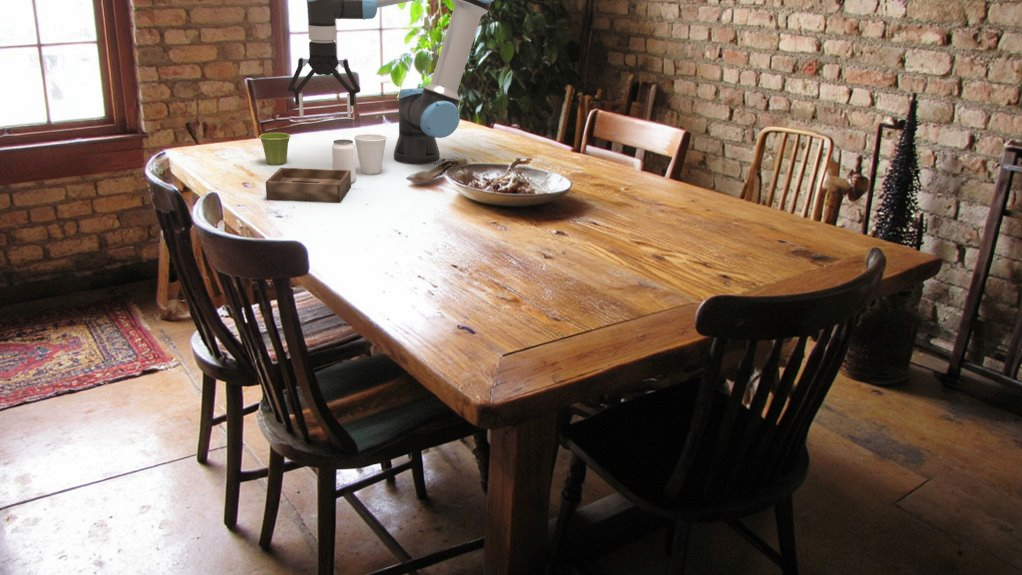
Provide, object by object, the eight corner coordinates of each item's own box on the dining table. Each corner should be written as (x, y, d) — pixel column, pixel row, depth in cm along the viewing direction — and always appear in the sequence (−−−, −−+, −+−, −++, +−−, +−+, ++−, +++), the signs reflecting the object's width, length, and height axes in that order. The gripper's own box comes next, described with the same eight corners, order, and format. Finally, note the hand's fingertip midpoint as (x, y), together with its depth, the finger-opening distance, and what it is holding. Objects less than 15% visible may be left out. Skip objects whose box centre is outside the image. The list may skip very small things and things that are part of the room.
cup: (390, 169, 265) (390, 134, 261) (383, 177, 256) (382, 141, 252) (359, 167, 266) (358, 132, 262) (351, 175, 257) (349, 139, 252)
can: (350, 185, 246) (349, 144, 242) (329, 183, 247) (328, 142, 243) (358, 180, 252) (357, 140, 247) (338, 178, 253) (337, 138, 249)
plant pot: (287, 167, 263) (285, 139, 259) (257, 165, 263) (255, 138, 259) (295, 160, 271) (293, 133, 268) (266, 158, 271) (264, 132, 268)
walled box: (351, 187, 244) (350, 170, 242) (340, 202, 229) (339, 184, 227) (281, 184, 244) (280, 167, 242) (266, 199, 229) (265, 181, 227)
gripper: (367, 41, 243) (369, 115, 251) (279, 38, 240) (283, 113, 248) (366, 43, 236) (368, 119, 244) (275, 41, 233) (279, 118, 241)
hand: (325, 116), depth 246 cm, fingers open, 13 cm apart
